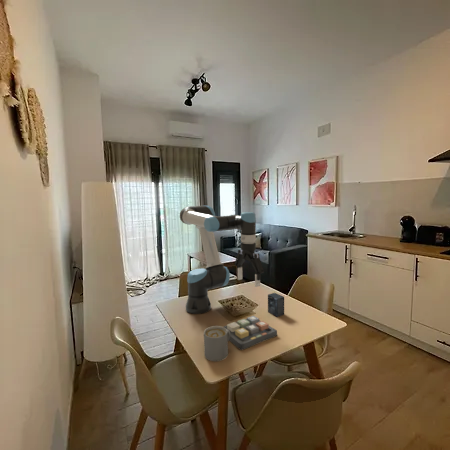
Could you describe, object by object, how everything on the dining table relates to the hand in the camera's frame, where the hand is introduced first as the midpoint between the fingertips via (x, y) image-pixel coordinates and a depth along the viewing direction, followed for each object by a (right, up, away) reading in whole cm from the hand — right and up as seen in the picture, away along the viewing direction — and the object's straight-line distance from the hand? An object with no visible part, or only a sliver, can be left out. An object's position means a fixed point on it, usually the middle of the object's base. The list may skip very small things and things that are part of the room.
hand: (248, 282), depth 135 cm
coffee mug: (-15, -25, -24) cm, 37 cm away
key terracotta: (+6, -20, -10) cm, 23 cm away
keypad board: (-1, -23, -10) cm, 25 cm away
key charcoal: (+1, -20, -13) cm, 24 cm away
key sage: (-3, -20, -7) cm, 21 cm away
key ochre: (-4, -20, -16) cm, 27 cm away
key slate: (+2, -19, -4) cm, 20 cm away
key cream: (-8, -20, -10) cm, 24 cm away
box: (+17, -20, +12) cm, 29 cm away
